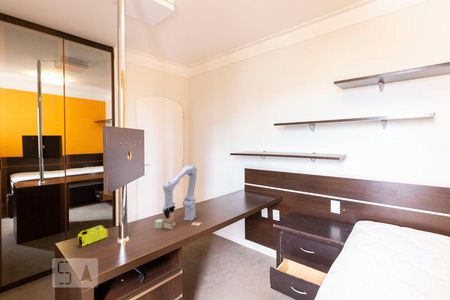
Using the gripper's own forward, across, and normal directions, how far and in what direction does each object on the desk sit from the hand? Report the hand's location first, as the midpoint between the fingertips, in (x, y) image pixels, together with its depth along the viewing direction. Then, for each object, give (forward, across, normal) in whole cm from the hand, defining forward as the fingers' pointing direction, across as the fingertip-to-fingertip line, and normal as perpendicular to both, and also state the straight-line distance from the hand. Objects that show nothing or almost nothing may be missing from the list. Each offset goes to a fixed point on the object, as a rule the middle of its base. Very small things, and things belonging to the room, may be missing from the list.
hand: (169, 217), depth 165 cm
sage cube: (+8, +2, -8) cm, 11 cm away
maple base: (+8, 0, 0) cm, 8 cm away
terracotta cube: (+2, 0, 0) cm, 2 cm away
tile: (+8, -10, +18) cm, 22 cm away
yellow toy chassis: (+8, +34, -36) cm, 50 cm away
